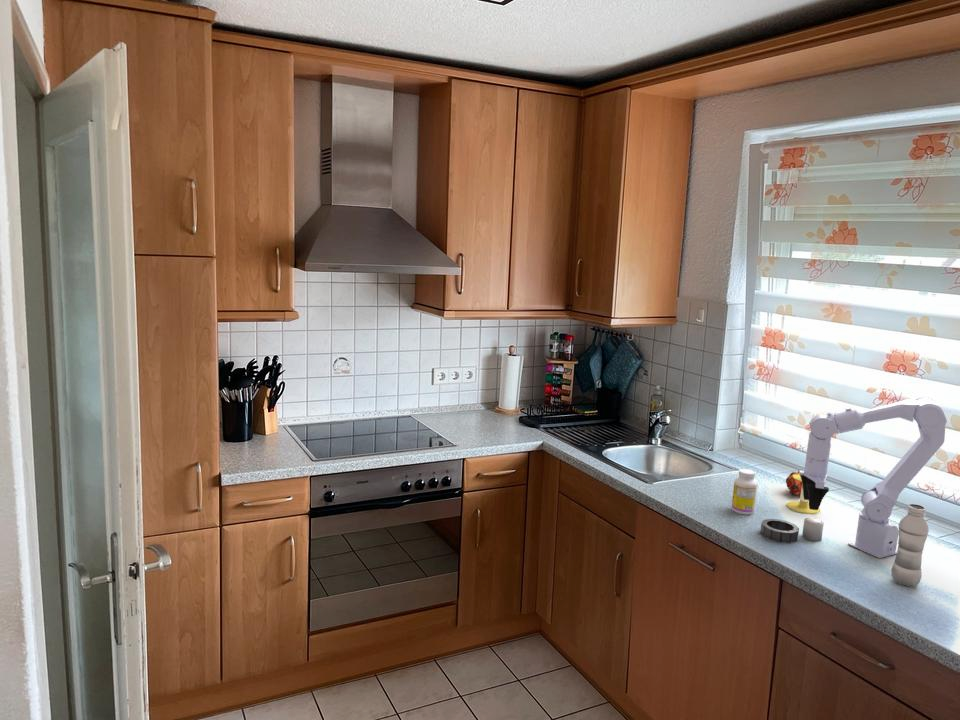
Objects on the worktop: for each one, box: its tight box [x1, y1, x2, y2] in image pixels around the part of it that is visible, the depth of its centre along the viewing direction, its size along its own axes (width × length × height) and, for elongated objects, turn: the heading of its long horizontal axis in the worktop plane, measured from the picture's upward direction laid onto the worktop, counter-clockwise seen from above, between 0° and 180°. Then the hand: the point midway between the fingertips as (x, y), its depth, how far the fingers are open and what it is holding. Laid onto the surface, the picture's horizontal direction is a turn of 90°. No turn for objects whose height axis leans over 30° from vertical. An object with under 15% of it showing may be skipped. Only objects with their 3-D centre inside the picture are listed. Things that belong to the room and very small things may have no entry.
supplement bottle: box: [731, 468, 758, 516], centre depth 219 cm, size 7×7×13 cm
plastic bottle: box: [891, 503, 930, 587], centre depth 176 cm, size 6×7×20 cm
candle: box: [786, 431, 821, 515], centre depth 223 cm, size 10×10×27 cm
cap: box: [801, 517, 825, 543], centre depth 202 cm, size 5×5×5 cm
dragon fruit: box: [785, 469, 802, 497], centre depth 237 cm, size 8×8×12 cm
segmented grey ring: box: [759, 518, 800, 544], centre depth 203 cm, size 10×10×3 cm
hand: (810, 504), depth 201 cm, fingers open, 7 cm apart
